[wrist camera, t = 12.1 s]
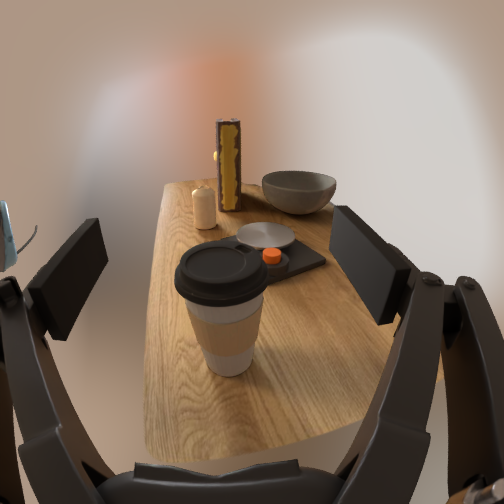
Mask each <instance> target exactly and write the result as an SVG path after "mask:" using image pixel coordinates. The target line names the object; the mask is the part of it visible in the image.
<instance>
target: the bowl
mask: <svg viewBox="0 0 504 504" xmlns="http://www.w3.org/2000/svg"><path fill="white" fill-rule="evenodd" d="M262 188H263V192H264V195H265V197H266V198H267V200H268V201H269V202H270V203H271V204H272V205H273V206H274V207H276V208H277V209H279V210H282V211H284V212H287V213H291V214H299V215H301V214H308V213H312V212H315V211H318V210H320V209H321V208H323V207H324V206H325V205H326V204H327V203H328V202H329V201H330V200H331V198H332V196H333V195H334V193H335V190H336V180H335V179H334V178H332V177H330V176H327V175H323V174H319V173H313V172H305V171H279V172H273V173H269V174H267V175H265V176H264V177H263V179H262Z"/></svg>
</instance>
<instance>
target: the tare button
mask: <svg viewBox="0 0 504 504" xmlns="http://www.w3.org/2000/svg"><path fill="white" fill-rule="evenodd" d="M263 260H264V261H265V263H267V264H278V263H280V261H281V251H280V250H279V249H277V248H266V249H264V250H263Z"/></svg>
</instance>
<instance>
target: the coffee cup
mask: <svg viewBox="0 0 504 504" xmlns="http://www.w3.org/2000/svg"><path fill="white" fill-rule="evenodd" d="M269 278H270V277H269V272H268V267H267V264H266V263H265V261H264V260H263V259H262V258H261V255H260V253H259V252H258V251H257V250H256V249H255V248H253V247H252V246H250V245H248V244H245V243H242V242H237V241H229V240H218V241H210V242H206V243H202V244H199V245H197V246H194V247H192V248H191V249H189V250H188V251H186V252H185V253H184V254H183V256H182V257H181V260H180V263H179V265H178V266H177V268H176V270H175V279H174V284H175V288H176V290H177V291H178V293H179V294H180V295H181V296H182V297H184V298H185V304H186V307H187V311H188V314H189V317H190V320H191V323H192V326H193V329H194V332H195V335H196V338H197V341H198V342H199V344H200V346H201V349H202V352H203V355H204V357H205V360H206V363H207V365H208V367H209V368H210V369H211V370H212V371H213V372H215V373H216V374H218V375H221V376H225V377H232V376H236V375H239V374H241V373H243V372H244V371H245V370H246V369H248V367H249V366H250V364H251V362H252V357H253V351H254V346H255V341H256V339H257V336H258V330H259V324H260V318H261V312H262V306H263V299H264V298H263V291H264V290H265V289H266V287H267V286H268V283H269Z"/></svg>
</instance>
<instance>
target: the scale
mask: <svg viewBox="0 0 504 504" xmlns="http://www.w3.org/2000/svg"><path fill="white" fill-rule="evenodd" d="M221 240H229V241H237V242H238V240H237V238H236V235H234V236H230V237H226V238H222V239H221ZM256 250H257V249H256ZM279 250H280V251H281V261H280V263H278V264H267V263H266V264H267V267H268V272H269V277H270V278H269V283H268V285H270V284H273V283H275V282H278V281H281V280H283V279H286V278H289V277H291V276H294V275H297V274H299V273H302V272H305V271H307V270H310V269H312V268H315V267H318V266H320V265H323V264H325V262H326V258H325V257H323V256H322V255H320V254H318V253H317V252H315V251H314V250H312V249H311V248H309V247H307V246H306V245H304V244H303V243H301V242H300V241H298V240H296V239H295V240H294V242H293V243H292V244H291V245H289V246H288V247H285V248H282V249H279ZM257 251H258V252H259V253H260V255H261V258H262V259H263V250H257Z"/></svg>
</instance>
